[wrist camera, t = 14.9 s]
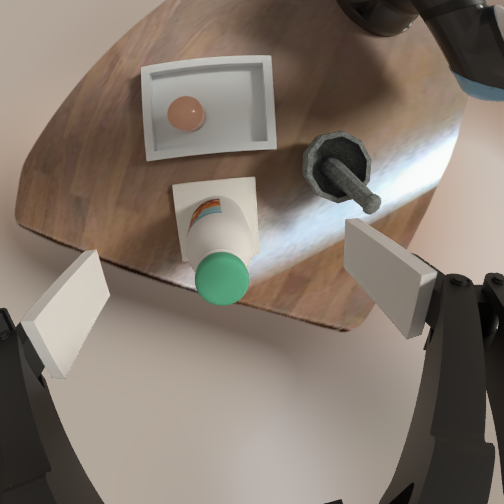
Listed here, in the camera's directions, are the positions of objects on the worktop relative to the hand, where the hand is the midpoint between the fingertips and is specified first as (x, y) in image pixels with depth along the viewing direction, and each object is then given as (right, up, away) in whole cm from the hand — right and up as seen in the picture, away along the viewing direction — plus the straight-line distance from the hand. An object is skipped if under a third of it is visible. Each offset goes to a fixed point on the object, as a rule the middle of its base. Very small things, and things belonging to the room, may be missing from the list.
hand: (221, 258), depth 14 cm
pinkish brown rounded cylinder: (-7, +19, +22) cm, 30 cm away
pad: (-4, +5, +29) cm, 29 cm away
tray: (-5, +21, +22) cm, 31 cm away
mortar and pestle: (+13, +13, +28) cm, 33 cm away
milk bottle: (-4, +5, +28) cm, 29 cm away
